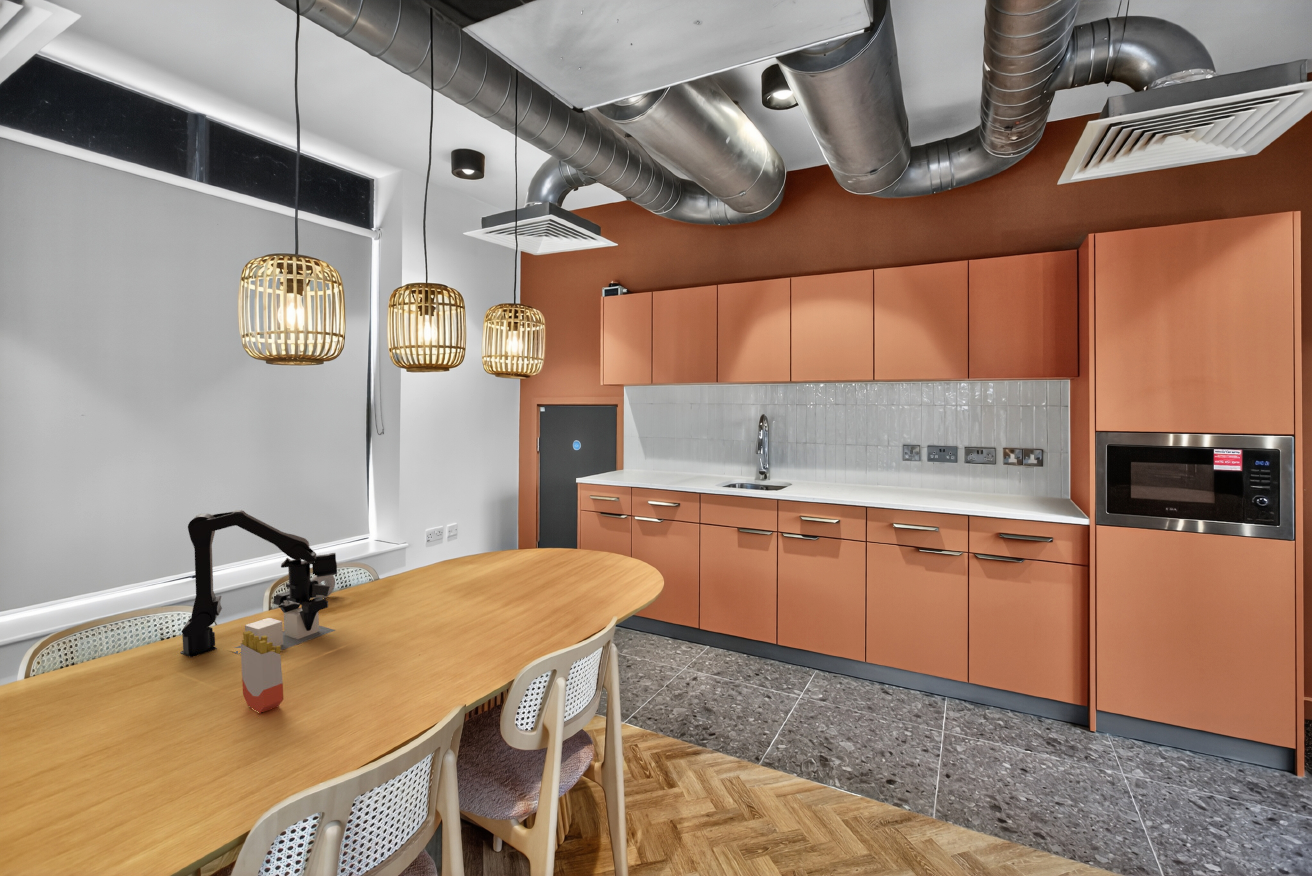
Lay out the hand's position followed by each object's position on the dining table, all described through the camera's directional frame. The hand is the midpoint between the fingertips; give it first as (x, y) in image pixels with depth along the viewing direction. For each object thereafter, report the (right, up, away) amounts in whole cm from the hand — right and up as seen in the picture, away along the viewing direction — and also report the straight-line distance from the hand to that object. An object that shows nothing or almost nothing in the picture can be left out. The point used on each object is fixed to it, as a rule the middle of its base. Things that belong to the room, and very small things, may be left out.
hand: (301, 628), depth 183 cm
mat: (-3, -2, -5) cm, 6 cm away
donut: (-12, 0, +33) cm, 35 cm away
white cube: (-5, -2, -10) cm, 11 cm away
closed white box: (0, -2, 0) cm, 2 cm away
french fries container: (+17, -5, -43) cm, 46 cm away
